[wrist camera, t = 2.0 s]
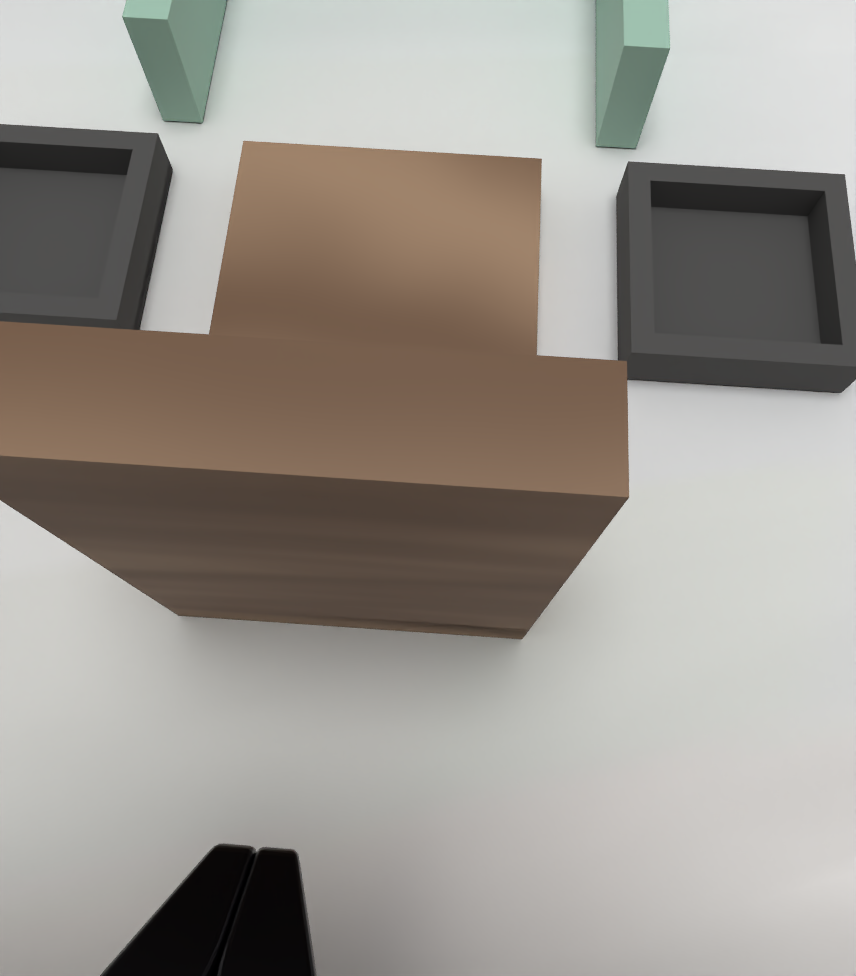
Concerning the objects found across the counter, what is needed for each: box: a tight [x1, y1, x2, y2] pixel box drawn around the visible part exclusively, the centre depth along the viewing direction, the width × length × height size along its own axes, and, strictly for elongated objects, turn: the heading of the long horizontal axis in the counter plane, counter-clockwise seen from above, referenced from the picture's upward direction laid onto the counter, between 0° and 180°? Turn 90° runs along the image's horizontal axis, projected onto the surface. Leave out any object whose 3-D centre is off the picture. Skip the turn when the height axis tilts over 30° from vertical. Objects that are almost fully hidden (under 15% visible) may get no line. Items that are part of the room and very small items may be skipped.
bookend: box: [0, 141, 629, 639], centre depth 14 cm, size 11×7×9 cm, turn 176°
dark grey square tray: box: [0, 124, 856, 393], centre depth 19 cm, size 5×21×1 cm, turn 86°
